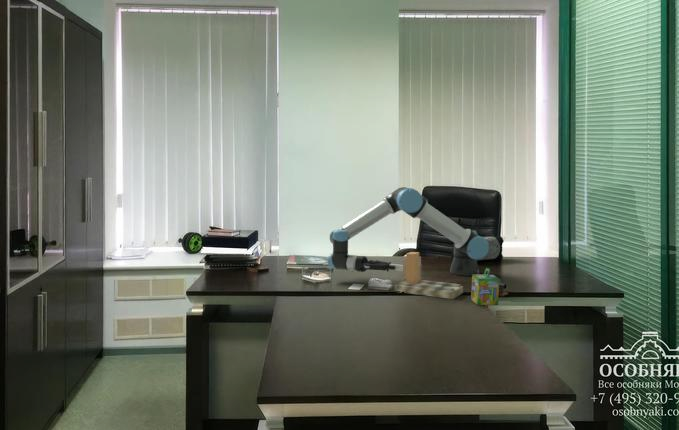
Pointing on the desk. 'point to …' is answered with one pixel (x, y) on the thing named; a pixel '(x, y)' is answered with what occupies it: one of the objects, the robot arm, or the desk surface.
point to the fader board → (430, 288)
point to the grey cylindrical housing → (491, 248)
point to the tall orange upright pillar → (412, 267)
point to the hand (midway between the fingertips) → (402, 268)
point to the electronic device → (501, 287)
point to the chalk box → (485, 289)
